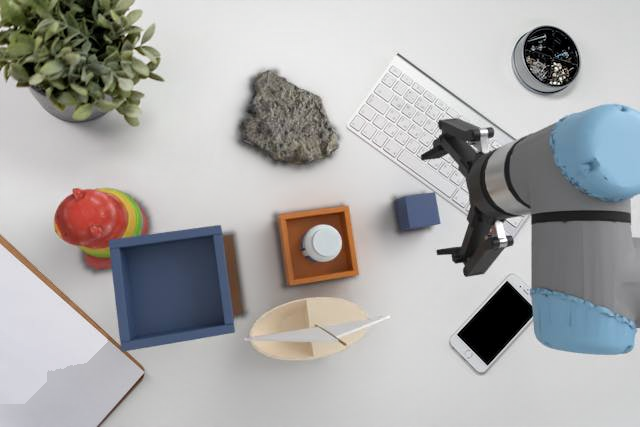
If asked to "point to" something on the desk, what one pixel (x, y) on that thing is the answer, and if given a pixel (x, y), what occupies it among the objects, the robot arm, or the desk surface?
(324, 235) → the pill bottle
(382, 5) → the desk surface
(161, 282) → the slate bin
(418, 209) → the slate block
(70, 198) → the stacking bear
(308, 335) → the toy sailboat
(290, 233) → the amber bin
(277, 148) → the stone slab
